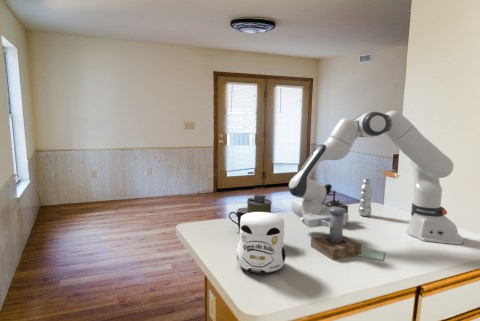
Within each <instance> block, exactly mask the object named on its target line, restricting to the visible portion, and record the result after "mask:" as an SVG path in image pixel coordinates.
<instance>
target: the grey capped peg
mask: <svg viewBox="0 0 480 321" xmlns="http://www.w3.org/2000/svg"><path fill="white" fill-rule="evenodd" d="M329 212H330V213H331V217H330V222H331V223H333V227H331V228H329V233H328V235H329V242H330V243H332V244H334V245H337V244H342V235H343V231H344V226H343V218H344V214H345V213H346V209H344V208H341V207H330V208H329Z"/></svg>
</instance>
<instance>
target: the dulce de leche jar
mask: <svg viewBox="0 0 480 321" xmlns="http://www.w3.org/2000/svg"><path fill="white" fill-rule="evenodd" d="M284 229H285V219H284V218H283V216H281V215H279V214H276V213H272V212H271V213H268V212H252V213H247V214H244V215H242V216H241V220H240V232H239V241H238V246H237V250H236V259H237V263H238V265H239V266H240V268H242V269H243V270H244V271H247V272H251V273H253V274H271V273H276V272H278V271H279V270H280V269H282V268H283V267H284V264H285V261H286V249H285V244H284V237H285V236H284V235H285V230H284Z"/></svg>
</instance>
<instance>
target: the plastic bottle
mask: <svg viewBox="0 0 480 321" xmlns="http://www.w3.org/2000/svg"><path fill="white" fill-rule="evenodd" d="M362 180H363V181H362V185H361V186H360V188H359V196H360V197H359V199H360V201H359V206H358V215H360V216H363V217H369V216H371V215H372V202H371V201H372V196H373V190H374V189H373V186H372V185H371V184H372V183H371V181H372V180H371V179H369V178H365V179H362Z"/></svg>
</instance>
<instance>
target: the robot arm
mask: <svg viewBox="0 0 480 321" xmlns="http://www.w3.org/2000/svg"><path fill="white" fill-rule="evenodd" d="M336 123H337V124H336V125H335V126H334V127H333V129H332V130H331V132H330V134H329V136H328V138H326V140H325V141H324V142H323V143H322V144H318V145H317V146H316V147H315V148H314V149H313V150H312V152H311V153H310V154H309V156H307V158H306V160H305V162H303V163H302V166H300V168H299V169H298V171H297V172H296V173H295V174H294V175H293V176H292V177H291V178H290V180H289V182H288V191H289V193H290V194H291V195H292V196H293V197H295V198H294V199H293V200H292V202H291V205H290V206H291V211H292V212H293V213H294V215H296V216H297V217H298V221H299V220H300V221H301V222H302V224H304V226H306V227H307V228H310V229H311V228H313V229H314V228H318V227H327V228H329V229H330V228H331V227H333V223H331V222H330V217H331V213H330V212H329V208H330V207H334V206H323V205H322V204H323V203H325V201H326V199H327V196H328V195H327V191H326V188H325V184H322V183H319V182H318V181H315V180H313V179H311V178H310V176H311V175H312V174H313V172H314V171H315V169H317V167H318V165H319V164H320V163H322V162H323V161H328V160H329V161H338V160H343V159H344V158H346V157H347V156H348V154H349V153H350V151H351V149H352V147H353V145H354V143H355V141H356V140H357V139H358V138H359V137H361V138H373V137H378V136H380V135H383V134H384V135H386V136H387V137H388V138H389V139H390V140H391V142H392V143H393V144H394V145H395V146H396V147H397V148H398V149H399V150H400V151H401V152H402V153H403V154H404V155H405V156H406V157H407V158H409V160H410V164H411V166H412V173H413V174H412V176H413V184H414V188H413V189H414V190H413V191H414V192H413V200H412V204H411V209H410V221H409V225H408V227H407V229H406V233H407V234H408V235H410V236H411V237H415V238H417V239H419V240H421V241H423V242H432V243H440V244H448V245H449V244H450V245H451V244H452V245H462V244H464V238H463V237H462V235H460V234H459V232H458V227H457V225H456V224H455V223H454V222H453V221H452V220H451V219H449V218H448V217H447V216H446V215H447V214H448V211H447V210H446V209H445V208H444V206H441V204H442V196H443V194H442V192H443V190H442V189H443V188H442V185H441V182H440V179H442V178H446V177H448V176H450V175H451V174H452V173H453V171H454V163H453V161H452V159H450V157H448V155H446V154H445V153H443V152H442V150H440V149H439V148H438V146H436V145H435V144H433V143H432V142H431V141H429V139H427V138H426V137H425V136H424V135H423V134H422V133H421V132H420V130H418V128H417V127H416V126H414V124H413V122H411V121H410V120H409V119H407V117H405V116H404V115H403V114H401V113H400V112H398V111H397V110H389V111H387V112H385V113H383V112H378V111H371V112H365V113H363V114H361V115H359V116H357V117H355V118H354V119H352V118H349V117H343V118H341V119H340V120H339V121H338V122H336ZM349 219H350V217H349V213H348V214H347V213H345V214H344V218H343V227H344V226H346V225H347V224H348V223H349ZM346 223H347V224H346Z"/></svg>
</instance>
